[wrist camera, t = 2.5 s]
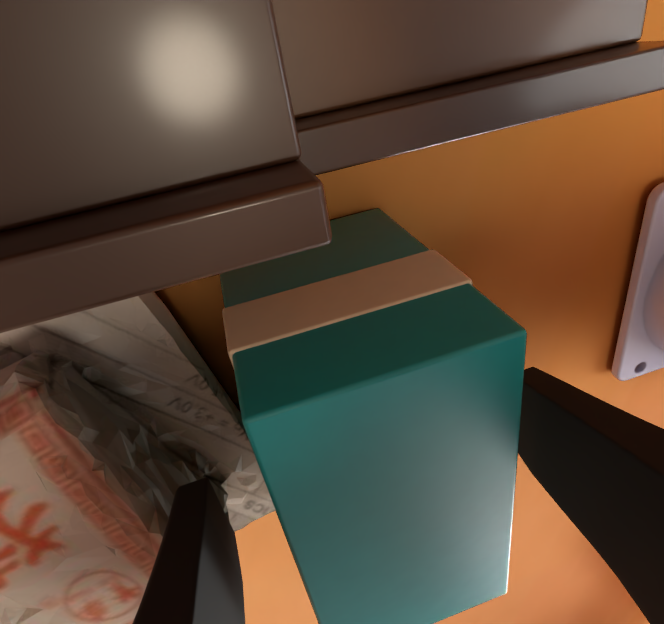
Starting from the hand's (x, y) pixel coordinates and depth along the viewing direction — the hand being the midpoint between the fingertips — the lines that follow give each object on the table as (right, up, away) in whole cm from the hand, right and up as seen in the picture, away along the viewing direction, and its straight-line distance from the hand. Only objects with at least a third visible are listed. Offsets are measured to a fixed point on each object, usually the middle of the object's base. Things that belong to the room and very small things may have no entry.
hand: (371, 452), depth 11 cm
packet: (-1, +2, +4) cm, 4 cm away
